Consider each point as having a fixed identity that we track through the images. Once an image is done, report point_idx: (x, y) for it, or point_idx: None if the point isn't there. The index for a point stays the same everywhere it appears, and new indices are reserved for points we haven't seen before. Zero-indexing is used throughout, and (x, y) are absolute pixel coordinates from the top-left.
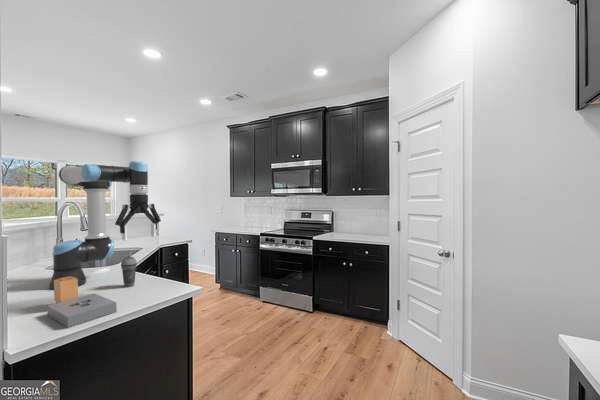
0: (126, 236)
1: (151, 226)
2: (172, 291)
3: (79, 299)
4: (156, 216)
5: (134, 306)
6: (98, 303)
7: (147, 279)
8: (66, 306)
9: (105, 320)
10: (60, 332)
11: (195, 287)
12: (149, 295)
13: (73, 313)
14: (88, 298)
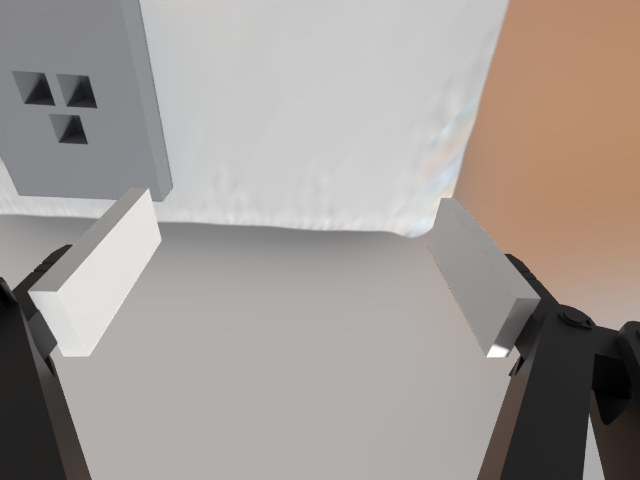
0: (141, 264)
1: (488, 277)
2: (379, 179)
3: (53, 31)
4: (606, 468)
5: (227, 193)
6: (112, 159)
7: None
8: (5, 80)
9: None
10: None
11: None
12: (312, 141)
13: (33, 181)
14: (88, 58)
